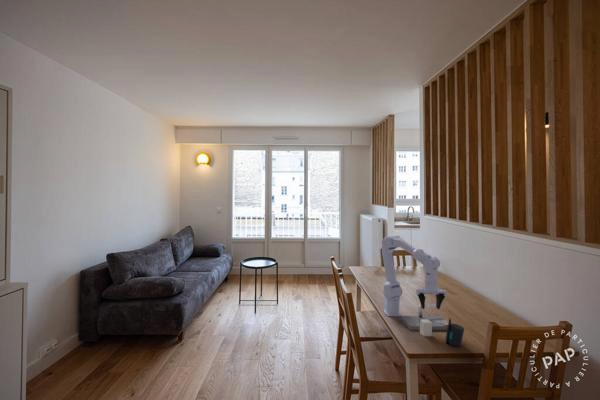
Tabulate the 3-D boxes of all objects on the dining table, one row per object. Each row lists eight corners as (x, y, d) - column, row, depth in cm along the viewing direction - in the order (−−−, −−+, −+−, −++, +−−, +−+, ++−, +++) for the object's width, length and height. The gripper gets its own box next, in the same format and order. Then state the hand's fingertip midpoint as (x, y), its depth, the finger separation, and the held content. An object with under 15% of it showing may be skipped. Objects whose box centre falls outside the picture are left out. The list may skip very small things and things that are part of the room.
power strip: (400, 319, 163) (400, 314, 163) (440, 319, 164) (440, 314, 164) (410, 330, 150) (410, 324, 150) (453, 330, 151) (453, 325, 151)
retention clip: (419, 317, 161) (420, 306, 161) (417, 315, 163) (417, 305, 163) (437, 315, 164) (438, 304, 164) (435, 313, 166) (435, 303, 166)
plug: (419, 332, 148) (420, 319, 148) (427, 332, 148) (428, 319, 148) (423, 336, 144) (423, 322, 144) (431, 336, 144) (432, 322, 144)
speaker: (441, 342, 138) (444, 320, 137) (445, 338, 142) (448, 317, 141) (458, 350, 132) (462, 327, 132) (463, 346, 137) (466, 323, 136)
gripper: (420, 283, 148) (419, 311, 148) (449, 284, 148) (448, 311, 148) (414, 279, 155) (413, 305, 155) (442, 280, 155) (441, 306, 155)
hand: (430, 308), depth 152 cm, fingers open, 7 cm apart
